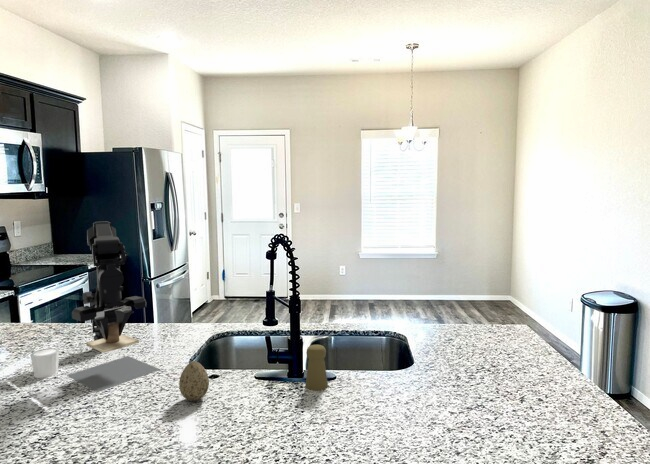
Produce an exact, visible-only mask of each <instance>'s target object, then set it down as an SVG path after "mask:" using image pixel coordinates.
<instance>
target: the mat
mask: <svg viewBox="0 0 650 464" xmlns="http://www.w3.org/2000/svg"><path fill="white" fill-rule="evenodd" d="M160 370H161V368H158V367H155V366H153V365H151V364H148V363H146V362H144V361H141V360H139V359H136V358H135V357H132V356H129V355H126V356H124V357H121V358H117V359H115V360H110V361H108V362H104V363H102V364H101V363H100V364H99V365H95V366H92V367H88V368H85V369H82V370H80V371H76V372H73V373H70V374H67V375H66V376H67V377H69V378H71V379H73V380H75V381H76V382H78V383H80V384H82V385H84V386H86V388H90V389H91V390H93V391H94V392H96V393H98V392H103V391H105V390H108V389H110V388H113V387H116V386H119V385H121V384H124V383H127V382H130V381H133V380H135V379H138V378H141V377H143V376H147V375H149V374H152V373H155V372H158V371H160Z"/></svg>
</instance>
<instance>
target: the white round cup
mask: <svg viewBox="0 0 650 464" xmlns="http://www.w3.org/2000/svg"><path fill="white" fill-rule="evenodd" d="M59 353H60V350H59V349H58V348H53V347H52V348H43V349H39V350H35V351H33V352H32V353H30V361H31V366H32V370H33V376H34V378H36V379H44V378H49V377H53V376H55V375H57V374H58V373H59V372H58V371H59V355H60V354H59Z"/></svg>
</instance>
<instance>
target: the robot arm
mask: <svg viewBox="0 0 650 464" xmlns="http://www.w3.org/2000/svg"><path fill="white" fill-rule="evenodd" d="M86 240H87V241H86V243H87V246H89V249H90V252H91V254H92V262H93V267H96V283H97V286H96V287H95V293H94V292H93V293H92V291H85V292H83V293H82V302H83V304H84V306H78V307H75V308H73V310H72V311H71V319H72V320H76V321H78V322H81V323H82V322H88V321H91V327H92V328H91V329H92V333H93V334H94V336H93V341H95V340H99V339H103V338H104V339H105V340H107V337H108V323H119V336H121V334H123V331H124V329H125V326H126V324H127V322H128V320H129V318H130V317H131V314H134V310H132V307H133V308H135V309H136V310H140V309H144V308H147V301H146V298H144V297H143V296H137V295H134V296H129V297H125V298H124V299H123V300H122V291H124V286H122V285H123V284H124V279H125V277H124V275H123V274H124V273H123V272H122V271H121V265H125V263H126V262H125V261H127V254H126V247H125V245H124V243H123V242H121V241H120V239H119V237H118V236H117V230H116V228H115V227H114V226H112V222H110V221H106V220H105V221H104V220H103V221H95V222H93V223H92V226H90V227H88V229H86ZM88 304H90V306H89V305H88Z"/></svg>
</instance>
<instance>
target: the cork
mask: <svg viewBox="0 0 650 464" xmlns="http://www.w3.org/2000/svg"><path fill="white" fill-rule="evenodd" d="M305 353H306V354H305V355H306V357H307V359H308V361H307V371H306V376H305V377H306V380H305V388H306V389H307V391H308V390H309V391H311V392H321V391H325V390H326V389H327V388H328V387H329V383H328V377H327V370H326V363H325V357H326V355H327V350H326V347H325V346H324V345H321V344H311V345H309V346H308V347H307V349H306V352H305Z"/></svg>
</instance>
